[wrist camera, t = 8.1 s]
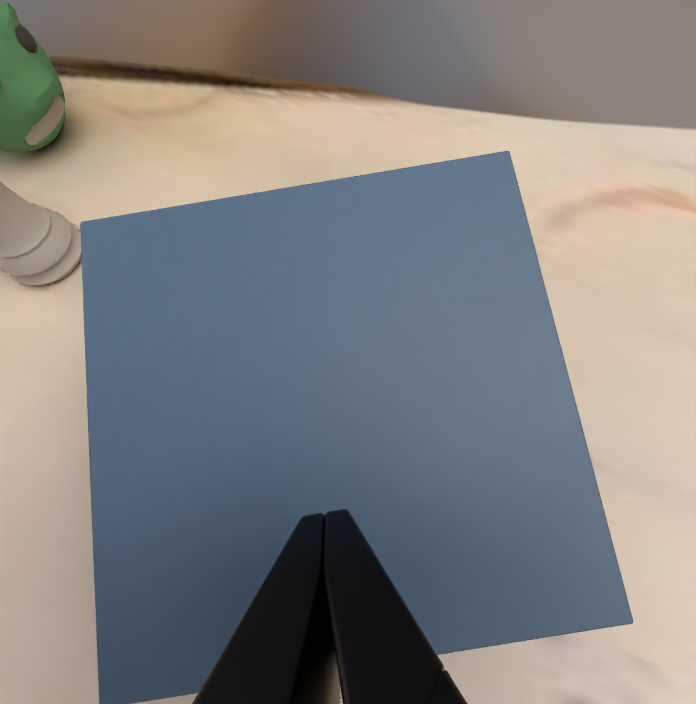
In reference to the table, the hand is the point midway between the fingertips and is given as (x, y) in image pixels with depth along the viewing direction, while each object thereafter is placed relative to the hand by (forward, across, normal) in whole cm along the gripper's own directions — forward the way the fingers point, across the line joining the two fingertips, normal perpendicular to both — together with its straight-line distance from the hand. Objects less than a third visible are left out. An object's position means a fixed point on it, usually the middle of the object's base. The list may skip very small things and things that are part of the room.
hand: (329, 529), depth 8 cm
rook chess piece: (+20, +15, -4) cm, 26 cm away
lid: (+5, 0, 0) cm, 5 cm away
